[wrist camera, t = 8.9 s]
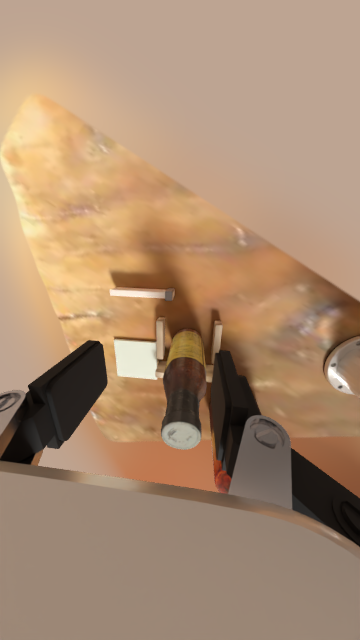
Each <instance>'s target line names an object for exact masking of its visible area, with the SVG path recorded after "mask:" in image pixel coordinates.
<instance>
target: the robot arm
mask: <svg viewBox="0 0 360 640" xmlns="http://www.w3.org/2000/svg"><path fill="white" fill-rule="evenodd" d="M324 373H325V376H326V379H327V380H328V382H329V383H330V384H331V385H332V386H333V387H334V388H336V389H337V390H339V391H341V392H344V393H348V394H355V395H356V396H357V397H358V398H359V399H360V336H357V337H354V338H351V339H349V340H347V341H345V342H343V343H341V344H340V345H339V346H338V347H336V348H335V349H334V350H333V351H332V352H331V353H330V355H329V356H328V358H327V360H326V363H325V367H324ZM106 386H107V373H106V365H105V358H104V350H103V345H102V344H100V342H99V341H91V340H89V341H87V342H86V343H84V344H83V345H82V346H80V347H79V348H77V349H76V350H75V351H73V352H72V353H71V354H69V355H68V356H67V357H65V358H64V359H63V360H62V361H60V362H59V363H58V364H56V365H55V366H53V367H52V368H51V369H49V370H48V371H47V372H45V373H44V374H43V375H42V376H40V377H39V378H38V379H36V380H35V381H33V382H32V383H31V384H29V385H28V388H29V391H28V392H27V393H26V394H25V392H24V391H21V390H12V391H8V392H4V393H1V394H0V640H360V498H358V497H357V496H356V495H354V494H353V493H352V492H350V491H349V490H347V489H346V488H345V487H344V486H342V485H341V484H339V483H338V482H337V481H335V480H334V479H333V478H331V477H330V476H329V475H327V474H326V473H325V472H323V471H322V470H320V469H319V468H318V467H316V466H315V465H314V464H312V463H311V462H309V461H308V460H307V459H305V458H304V457H303V456H301V455H300V454H299V453H297V452H296V451H295V450H293V449H292V448H291V442H290V438H289V435H288V434H287V432H286V430H285V429H284V428H283V427H282V426H281V425H280V424H279V423H277V422H276V421H275V420H273V419H271V418H269V417H266V416H262V415H261V414H260V411H259V409H258V406H257V404H256V401H255V399H254V396H253V394H252V391H251V389H250V386H249V384H248V381H247V379H246V377H245V376H241V375H238V374H237V371H236V368H235V365H234V363H233V360H232V357H231V354H230V351H223V350H219V353H215V359H214V368H213V377H212V386H211V405H212V416H213V427H214V438H215V450H216V459H217V460H218V461H221V466H222V471H226V472H227V474H228V475H229V477H230V478H231V479H232V480H231V484H230V488H229V492H228V494H223V493H217V492H212V491H206V490H199V489H194V488H187V487H180V486H174V485H167V484H159V483H153V482H146V481H139V480H133V479H126V478H120V477H112V476H106V475H99V474H91V473H85V472H78V471H70V470H63V469H56V468H49V467H42V466H38V463H39V461H40V458H41V455H42V453H43V449H44V448H45V447H46V445H47V447H48V448H55V449H59V448H60V446H61V445H62V444H63V443H64V441H67V440H68V439H69V438H70V437H71V435H72V434H73V432H74V431H75V430H76V428H77V427H78V425H79V424H80V422H81V421H82V420H83V418H84V417H85V415H86V414H87V413H88V411H89V410H90V409H91V407H92V406H93V405H94V403H95V402H96V400H97V399H98V398H99V396H100V395H101V393H102V392H103V391H104V389H105V388H106Z"/></svg>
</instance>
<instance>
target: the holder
mask: <svg viewBox="0 0 360 640" xmlns="http://www.w3.org/2000/svg"><path fill="white" fill-rule="evenodd" d="M222 327H223V325H222V322H221V321H216V320H215V321H214V331H213V340H212V350H211V362H212V364H214V359H215V353H219V350H220V343H221V335H222ZM156 336H157V359H163V357H164V355H165V317H159V318H158V319H157V321H156ZM166 363H167V361H159V363H158V366H157V369H156V371H155V377H159V378H163V375H164V371H165V367H166ZM213 368H214V365H206V382H212V377H213Z"/></svg>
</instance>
